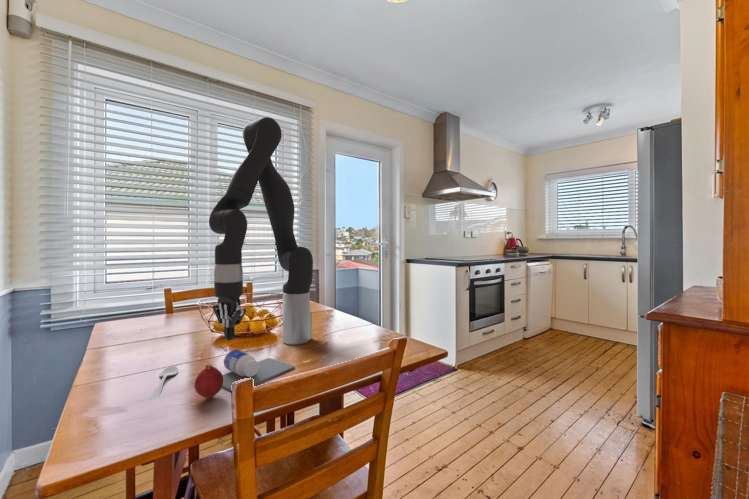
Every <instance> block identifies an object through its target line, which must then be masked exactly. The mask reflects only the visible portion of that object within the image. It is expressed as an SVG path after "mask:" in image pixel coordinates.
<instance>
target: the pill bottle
mask: <svg viewBox="0 0 749 499" xmlns="http://www.w3.org/2000/svg"><path fill="white" fill-rule="evenodd" d="M258 362H259V361H257V360H256V359H255V357H254V356H253V355H250V354H248V353H246V352H245V351H241V350H239V349H232V350H230V351H229V352H227V354H226V355H225V356H224V358H223V366H224V368H226V369H227V370H228V371H230V372H234V373H235V374H237V375H239V376H242V377H245V376H248V377H252V376H254V375H255V374H256V373H257V372H258V369H259V364H258Z"/></svg>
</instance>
